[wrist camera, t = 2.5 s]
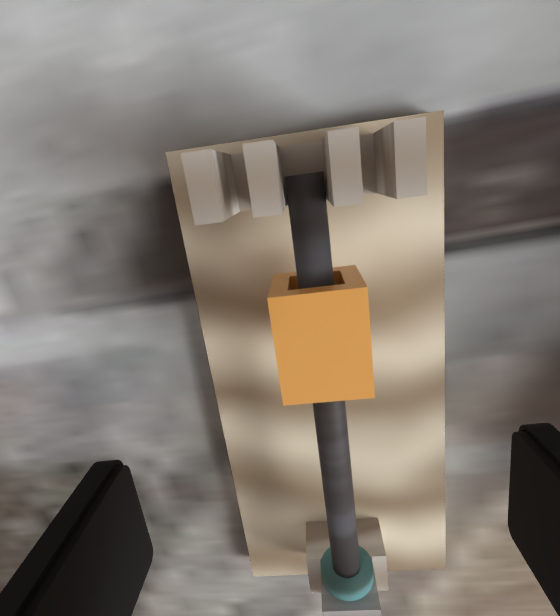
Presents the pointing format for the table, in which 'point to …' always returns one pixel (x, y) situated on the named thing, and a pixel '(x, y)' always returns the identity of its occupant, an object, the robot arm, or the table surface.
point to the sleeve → (322, 338)
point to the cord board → (384, 338)
